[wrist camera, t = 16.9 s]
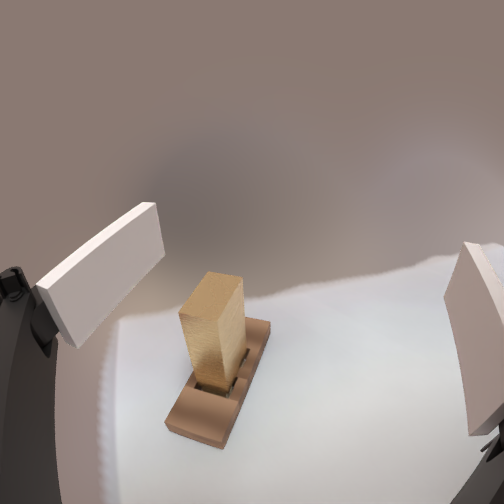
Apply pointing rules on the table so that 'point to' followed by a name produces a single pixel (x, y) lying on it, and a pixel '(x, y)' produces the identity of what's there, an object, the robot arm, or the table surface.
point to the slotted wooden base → (215, 407)
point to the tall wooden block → (215, 331)
